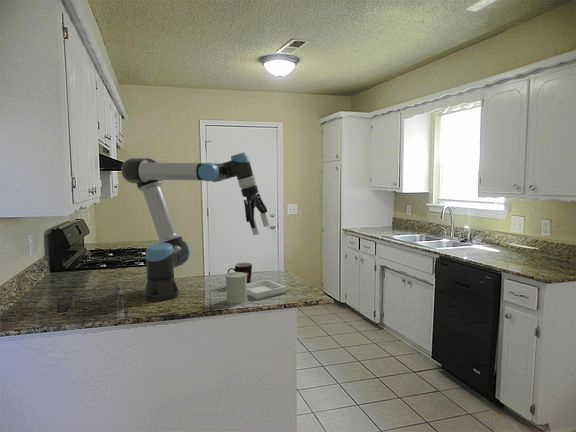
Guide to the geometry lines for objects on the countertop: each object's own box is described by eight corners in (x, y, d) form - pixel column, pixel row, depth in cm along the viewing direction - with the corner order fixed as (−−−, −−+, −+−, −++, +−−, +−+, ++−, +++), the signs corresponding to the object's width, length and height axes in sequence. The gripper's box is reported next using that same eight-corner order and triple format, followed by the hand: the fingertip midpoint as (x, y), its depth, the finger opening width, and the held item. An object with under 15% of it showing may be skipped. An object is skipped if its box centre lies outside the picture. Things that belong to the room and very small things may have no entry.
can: (236, 295, 184) (235, 269, 183) (251, 299, 179) (251, 272, 178) (221, 301, 177) (220, 274, 175) (237, 305, 171) (236, 277, 170)
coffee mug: (254, 282, 207) (253, 262, 205) (250, 287, 198) (250, 266, 197) (231, 281, 208) (231, 262, 207) (227, 286, 199) (226, 266, 198)
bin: (256, 300, 178) (256, 293, 178) (238, 291, 191) (238, 285, 190) (286, 293, 187) (286, 286, 187) (267, 285, 200) (266, 279, 200)
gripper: (245, 189, 173) (259, 236, 177) (265, 180, 196) (277, 221, 200) (229, 193, 176) (244, 239, 179) (251, 183, 199) (263, 224, 202)
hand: (261, 230), depth 190 cm, fingers open, 13 cm apart
